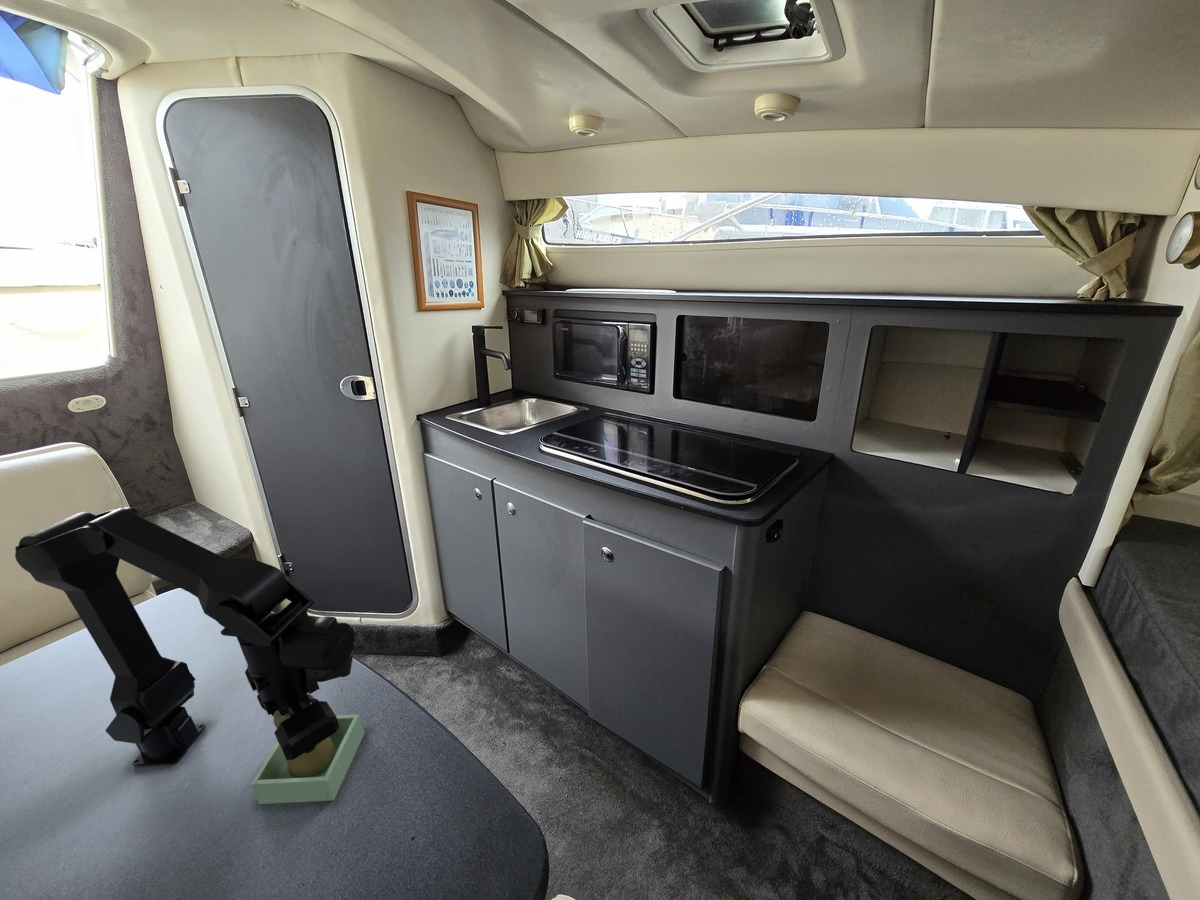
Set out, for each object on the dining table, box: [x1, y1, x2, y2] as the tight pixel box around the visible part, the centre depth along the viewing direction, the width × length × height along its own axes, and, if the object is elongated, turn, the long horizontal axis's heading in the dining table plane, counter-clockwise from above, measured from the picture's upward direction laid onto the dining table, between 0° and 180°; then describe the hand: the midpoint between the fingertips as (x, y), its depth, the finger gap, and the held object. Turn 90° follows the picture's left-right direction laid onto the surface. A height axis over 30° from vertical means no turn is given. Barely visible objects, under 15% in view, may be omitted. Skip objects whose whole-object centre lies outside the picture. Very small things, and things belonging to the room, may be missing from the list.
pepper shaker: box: [273, 693, 335, 778], centre depth 70 cm, size 6×6×11 cm
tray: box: [250, 714, 365, 805], centre depth 72 cm, size 10×10×4 cm
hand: (305, 740), depth 70 cm, fingers closed on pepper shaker, 4 cm apart
